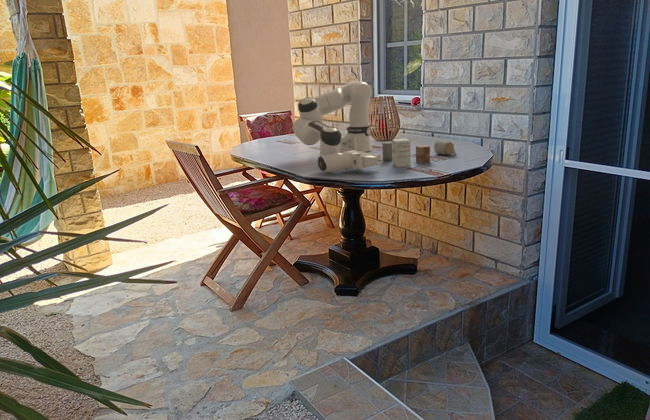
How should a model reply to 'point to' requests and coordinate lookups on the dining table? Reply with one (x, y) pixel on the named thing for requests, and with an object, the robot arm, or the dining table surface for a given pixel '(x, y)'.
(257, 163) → the dining table surface
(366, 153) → the robot arm
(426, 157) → the walnut block
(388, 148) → the grey rounded cylinder
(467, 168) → the dining table surface
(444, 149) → the ceramic mug
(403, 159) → the supplement box
